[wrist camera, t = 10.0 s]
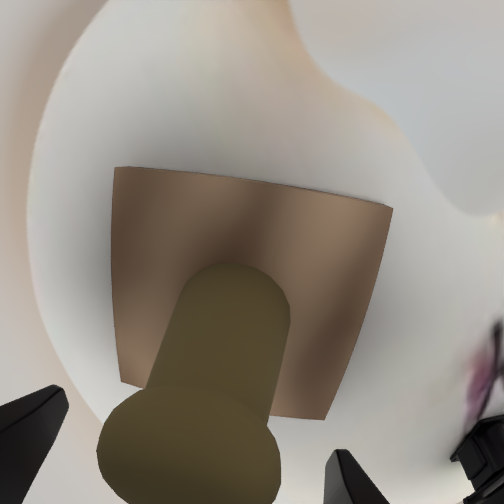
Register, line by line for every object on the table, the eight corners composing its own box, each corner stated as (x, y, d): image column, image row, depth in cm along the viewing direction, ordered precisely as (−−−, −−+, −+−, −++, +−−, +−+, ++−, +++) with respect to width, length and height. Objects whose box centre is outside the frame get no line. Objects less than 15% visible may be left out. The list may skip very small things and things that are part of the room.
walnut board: (383, 204, 15) (393, 208, 13) (322, 405, 19) (324, 420, 17) (128, 166, 15) (114, 167, 14) (129, 369, 19) (121, 381, 18)
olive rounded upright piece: (264, 376, 16) (245, 554, 6) (166, 338, 16) (74, 496, 6) (310, 289, 15) (350, 497, 4) (196, 243, 15) (51, 399, 4)
